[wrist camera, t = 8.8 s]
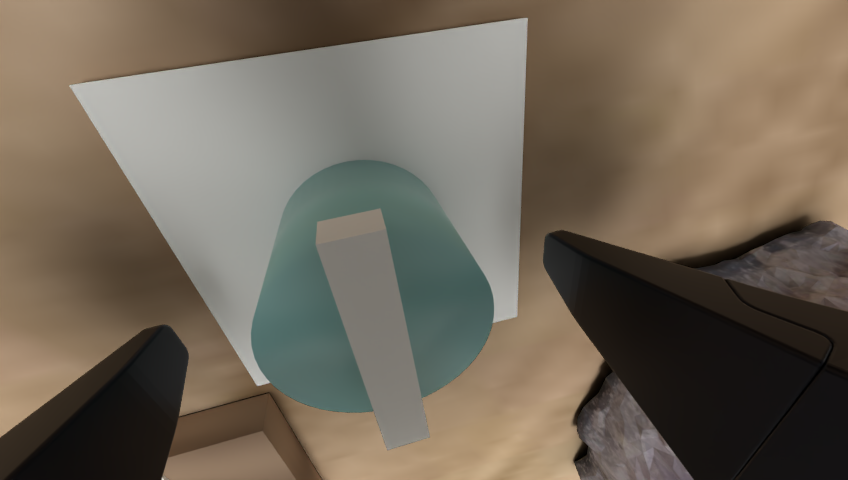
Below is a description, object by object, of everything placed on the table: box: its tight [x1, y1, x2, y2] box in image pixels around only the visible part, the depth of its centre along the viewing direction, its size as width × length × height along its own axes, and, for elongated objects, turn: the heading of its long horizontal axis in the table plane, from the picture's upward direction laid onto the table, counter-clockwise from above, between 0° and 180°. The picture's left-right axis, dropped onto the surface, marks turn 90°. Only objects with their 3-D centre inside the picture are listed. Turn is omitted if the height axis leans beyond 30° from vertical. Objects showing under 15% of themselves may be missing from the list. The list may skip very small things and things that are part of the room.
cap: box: [251, 160, 494, 450], centre depth 8 cm, size 6×5×5 cm
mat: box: [69, 18, 528, 386], centre depth 10 cm, size 10×10×1 cm
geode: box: [574, 221, 848, 480], centre depth 16 cm, size 20×12×10 cm, turn 177°
